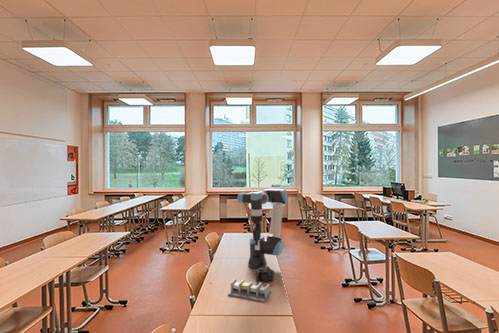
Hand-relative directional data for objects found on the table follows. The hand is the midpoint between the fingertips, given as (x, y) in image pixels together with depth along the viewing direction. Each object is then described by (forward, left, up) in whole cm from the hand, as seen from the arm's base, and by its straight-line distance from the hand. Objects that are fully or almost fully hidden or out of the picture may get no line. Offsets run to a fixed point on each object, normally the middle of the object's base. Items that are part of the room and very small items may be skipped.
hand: (257, 249), depth 175 cm
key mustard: (+12, -4, -21) cm, 25 cm away
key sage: (+12, +2, -22) cm, 25 cm away
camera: (-9, +2, -25) cm, 26 cm away
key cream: (+12, -10, -22) cm, 27 cm away
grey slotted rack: (+12, -1, -24) cm, 27 cm away
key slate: (+12, +8, -22) cm, 26 cm away
